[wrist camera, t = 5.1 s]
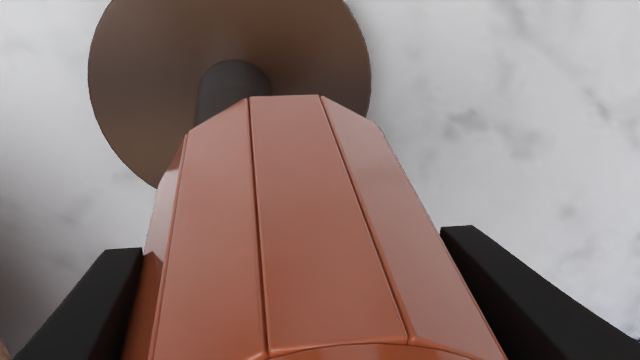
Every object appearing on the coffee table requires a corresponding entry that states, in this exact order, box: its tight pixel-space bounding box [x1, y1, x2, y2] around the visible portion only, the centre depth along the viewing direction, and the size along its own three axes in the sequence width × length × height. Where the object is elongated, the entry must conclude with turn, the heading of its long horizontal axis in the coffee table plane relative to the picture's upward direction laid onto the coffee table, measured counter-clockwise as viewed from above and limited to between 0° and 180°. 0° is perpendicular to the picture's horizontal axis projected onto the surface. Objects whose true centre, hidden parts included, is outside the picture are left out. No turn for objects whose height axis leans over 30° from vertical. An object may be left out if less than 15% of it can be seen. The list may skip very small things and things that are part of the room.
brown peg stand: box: [88, 0, 371, 189], centre depth 15 cm, size 9×9×6 cm
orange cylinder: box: [120, 95, 508, 360], centre depth 9 cm, size 5×5×7 cm
